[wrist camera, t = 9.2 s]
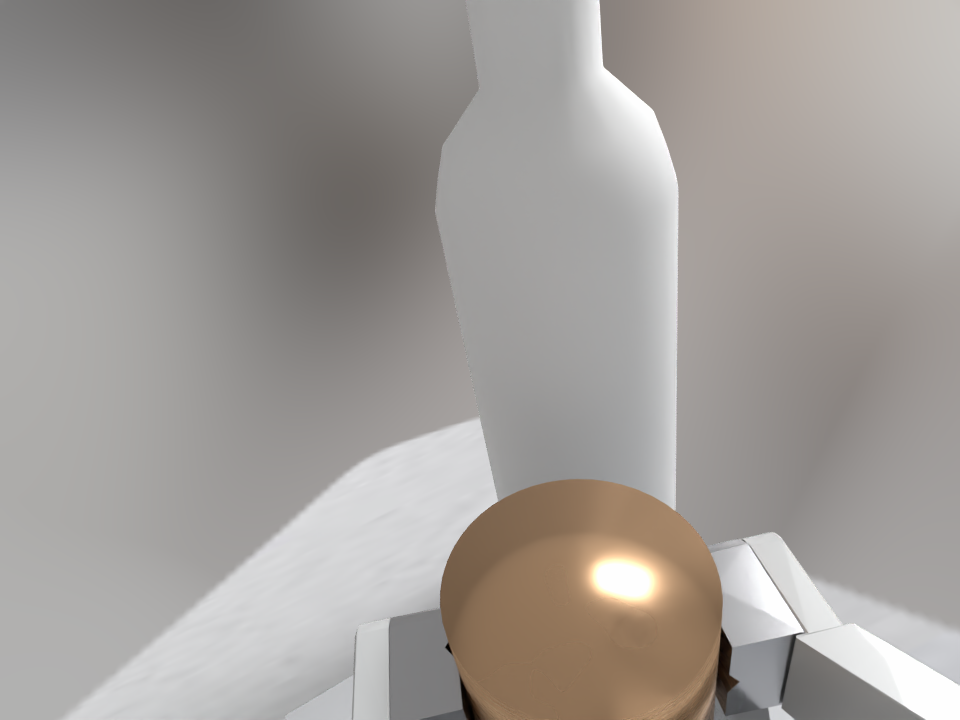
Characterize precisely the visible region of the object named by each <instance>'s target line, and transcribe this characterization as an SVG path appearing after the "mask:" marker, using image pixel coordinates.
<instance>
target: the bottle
mask: <svg viewBox="0 0 960 720" xmlns="http://www.w3.org/2000/svg"><path fill="white" fill-rule="evenodd" d="M466 7H467V13H468V20H469V26H470V32H471V38H472V45H473V51H474V58H475V64H476V70H477V76H478V83H479V90H478V92H477V93H476V95H475V96H474V98H473V99H472V101H471V102H470V104H469V106H468V107H467V109H466V110H465V112H464V113H463V115H462V116H461V118H460V119H459V121H458V123H457V124H456V126H455V127H454V129H453V130H452V132H451V134H450V135H449V137H448V138H447V140H446V141H445V143H444V144H443V146H442V154H441V160H440V168H439V175H438V182H437V195H436V208H435V214H436V218H437V222H438V227H439V232H440V236H441V241H442V246H443V250H444V255H445V260H446V264H447V269H448V273H449V278H450V282H451V287H452V292H453V296H454V300H455V305H456V310H457V315H458V319H459V324H460V328H461V333H462V337H463V342H464V347H465V351H466V355H467V360H468V365H469V369H470V374H471V379H472V383H473V388H474V392H475V397H476V401H477V406H478V411H479V415H480V420H481V424H482V429H483V434H484V438H485V443H486V447H487V452H488V456H489V461H490V466H491V470H492V475H493V479H494V484H495V489H496V493H497V498H498V502H499V501H500V500H502V499H503V498H505V497H507V496H509V495H511V494H513V493H516V492H518V491H520V490H523V489H526V488H528V487H531V486H534V485H538V484H542V483H546V482H552V481H558V480H569V479H593V480H601V481H608V482H613V483H617V484H622V485H625V486H628V487H631V488H634V489H637V490H640V491H642V492H644V493H646V494H649V495H651V496H653V497H655V498H656V499H658V500H660V501H661V502H663V503H665V504H667V505H668V506H669V507H671V508H672V509H673V510H675V496H676V495H675V492H676V389H677V283H678V278H677V276H678V275H677V274H678V186H677V179H676V174H675V170H674V167H673V164H672V161H671V157H670V154H669V151H668V148H667V145H666V142H665V140H664V137H663V134H662V132H661V129H660V127H659V124H658V121H657V119H656V117H655V114H654V111H653V110H652V109H651V108H650V107H649V106H648V105H646V104H645V103H644V102H643V101H642V100H641V99H640V98H638V97H637V96H636V95H635V94H634V93H633V92H631V91H630V90H629V89H628V88H627V87H626V86H624V85H623V84H622V83H621V82H620V81H619V80H618V79H616V78H615V77H614V76H613V75H612V74H611V73H610V72H608V71H607V70H606V69H605V68H604V67H603V61H602V43H601V24H600V5H599V0H466Z"/></svg>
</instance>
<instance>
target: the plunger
mask: <svg viewBox="0 0 960 720" xmlns="http://www.w3.org/2000/svg"><path fill="white" fill-rule="evenodd" d="M722 607H723V596H722V587H721V581H720V577H719V573H718V570H717V566H716V564H715V562H714V560H713V557H712V555H711V553H710V551H709V549H708V547H707V546H706V544H705V543H704V541H703V540H702V538H701V537H700V535H699V534H698V533H697V532H696V531H695V529H694V528H693V527H692V526H691V525H690V524H689V523H688V522H687V521H686V520H685V519H684V518H683V517H682V516H681V515H680V514H679V513H677V512H676V511H675V510H673V509H672V508H671V507H669V506H668V505H667V504H665V503H663V502H661V501H660V500H658V499H656V498H655V497H653V496H651V495H649V494H646V493H644V492H642V491H640V490H637V489H634V488H631V487H628V486H625V485H622V484H617V483H613V482H608V481H601V480H593V479H569V480H558V481H552V482H546V483H542V484H538V485H534V486H531V487H528V488H526V489H523V490H520V491H518V492H516V493H513V494H511V495H509V496H507V497H505V498H503V499H502V500H500V501H499V502H497V503H495V504H494V505H492V506H491V507H490V508H488V509H487V510H486V511H484V512H483V513H482V514H481V515H480V516H479V517H477V518H476V519H475V520H474V521H473V522H472V523H471V524H470V525H469V527H468V528H467V529H466V530H465V532H464V533H463V534H462V535H461V537H460V538H459V540H458V542H457V543H456V545H455V546H454V548H453V550H452V552H451V554H450V556H449V559H448V561H447V564H446V567H445V570H444V574H443V577H442V584H441V591H440V609H441V615H442V622H443V626H444V629H445V633H446V636H447V639H448V642H449V645H450V648H451V651H452V654H453V657H454V659H455V662H456V665H457V668H458V671H459V674H460V677H461V680H462V683H463V686H464V689H465V691H466V694H467V697H468V700H469V703H470V706H471V709H472V712H473V715H474V718H475V720H770V716H769V710H768V708H763V709H758V710H753V711H748V712H743V713H738V714H733V715H728V716H725V714H724V712H723V710H722V708H721V706H720V704H719V702H718V699H717V697H716V685H717V673H718V660H719V648H720V636H721V624H722Z"/></svg>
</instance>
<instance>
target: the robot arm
mask: <svg viewBox="0 0 960 720" xmlns="http://www.w3.org/2000/svg"><path fill="white" fill-rule="evenodd" d="M707 547H708V549H709V551H710V553H711V555H712V557H713V560H714V562H715V564H716V566H717V570H718V573H719V577H720V581H721V587H722V596H723V607H722V624H721V636H720V648H719V660H718V673H717V685H716V697H717V699H718V702H719V704H720V706H721V708H722V710H723V712H724V714H725V716H728V715H733V714H738V713H743V712H748V711H753V710H758V709H763V708H768V707H773V706H778V705H782V707H781V708H782V709H783V710H784V711H785V712H786V713H788V714H789V715H790V716H791V717H792V718H793V719H795V720H960V686H959V685H958V684H956V683H954V682H952V681H951V680H949V679H947V678H946V677H944V676H942V675H941V674H939V673H937V672H936V671H934V670H932V669H930V668H929V667H927V666H925V665H924V664H922V663H920V662H919V661H917V660H915V659H913V658H912V657H910V656H908V655H907V654H905V653H903V652H902V651H900V650H898V649H897V648H895V647H893V646H891V645H890V644H888V643H886V642H885V641H883V640H881V639H880V638H878V637H876V636H875V635H873V634H871V633H869V632H868V631H866V630H864V629H863V628H861V627H859V626H858V625H856V624H854V623H849V624H842V623H841V621H840V620H839V618H838V617H837V616H836V614H835V613H834V611H833V610H832V608H831V607H830V606H829V604H828V603H827V601H826V600H825V599H824V597H823V596H822V594H821V593H820V592H819V590H818V589H817V587H816V586H815V585H814V583H813V582H812V580H811V579H810V577H809V576H808V575H807V573H806V572H805V570H804V569H803V568H802V566H801V565H800V564H799V562H798V561H797V559H796V558H795V556H794V555H793V554H792V552H791V551H790V549H789V548H788V546H787V545H786V544H785V542H784V541H783V539H782V538H781V537H780V536H779V535H777V534H776V533H774V532H768V533H764V534H760V535H756V536H752V537H748V538H744V539H735V540H731V541H727V542H723V543H719V544H714V545H711V546H707ZM352 720H475V718H474V715H473V712H472V709H471V706H470V703H469V700H468V697H467V694H466V691H465V689H464V686H463V683H462V680H461V677H460V674H459V671H458V668H457V665H456V662H455V659H454V657H453V654H452V651H451V648H450V645H449V642H448V639H447V636H446V633H445V629H444V626H443V622H442V615H441V609H440V608H436V609H431V610H426V611H422V612H417V613H412V614H407V615H403V616H398V617H393V618H387V619H382V620H378V621H374V622H369V623H365V624H360V625H358V629H357V632H356V636H355V653H354V676H353V700H352Z"/></svg>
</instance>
